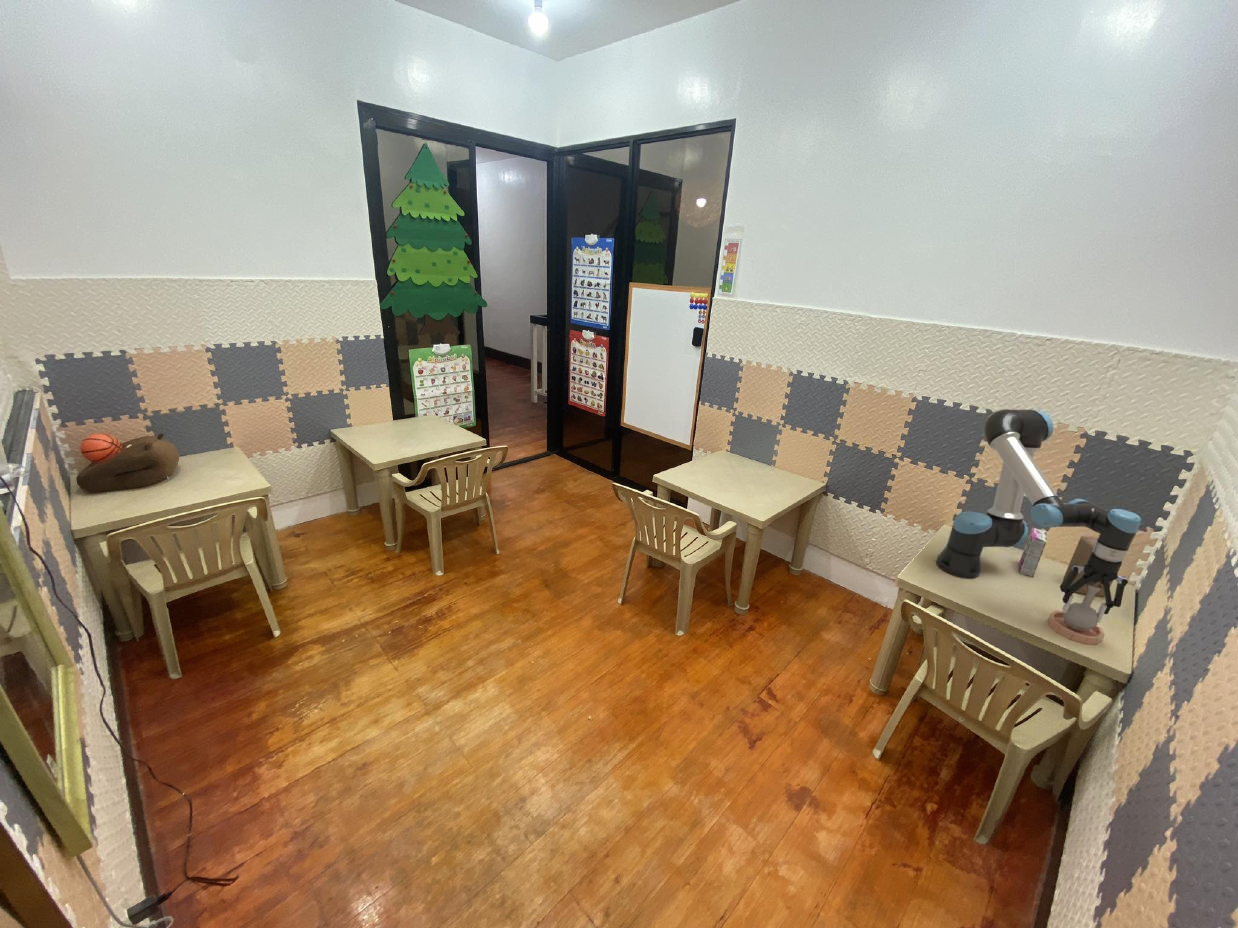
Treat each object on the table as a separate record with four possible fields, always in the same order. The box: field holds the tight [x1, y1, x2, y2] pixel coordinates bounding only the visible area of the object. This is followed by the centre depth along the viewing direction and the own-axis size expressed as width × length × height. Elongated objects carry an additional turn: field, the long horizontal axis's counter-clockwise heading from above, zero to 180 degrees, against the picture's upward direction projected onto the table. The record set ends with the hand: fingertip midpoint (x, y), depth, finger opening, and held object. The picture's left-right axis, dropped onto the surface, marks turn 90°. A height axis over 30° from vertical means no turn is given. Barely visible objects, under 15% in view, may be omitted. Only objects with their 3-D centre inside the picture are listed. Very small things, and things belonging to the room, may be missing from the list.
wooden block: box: [1063, 535, 1114, 598], centre depth 197 cm, size 10×10×20 cm
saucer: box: [1047, 610, 1106, 645], centre depth 176 cm, size 14×14×2 cm
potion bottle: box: [1063, 581, 1102, 632], centre depth 172 cm, size 9×9×18 cm
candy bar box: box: [1018, 527, 1048, 578], centre depth 208 cm, size 11×5×16 cm, turn 143°
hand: (1080, 615), depth 174 cm, fingers closed on potion bottle, 8 cm apart
